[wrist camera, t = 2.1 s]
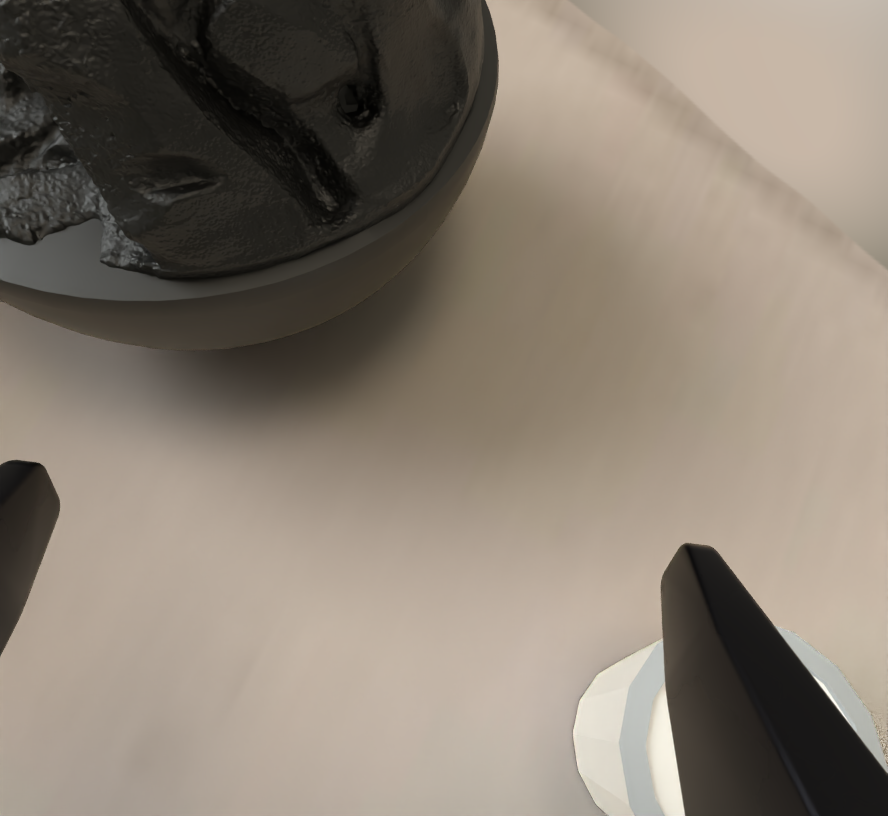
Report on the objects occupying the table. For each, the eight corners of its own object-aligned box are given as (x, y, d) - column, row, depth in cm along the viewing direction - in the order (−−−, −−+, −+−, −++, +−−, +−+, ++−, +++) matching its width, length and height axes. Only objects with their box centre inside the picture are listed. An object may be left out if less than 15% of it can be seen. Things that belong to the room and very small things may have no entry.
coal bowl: (159, 548, 24) (-402, 165, 7) (-76, 194, 29) (-723, -517, 12) (555, 275, 30) (775, -281, 13) (302, 24, 36) (224, -603, 19)
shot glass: (651, 598, 25) (743, 562, 18) (792, 760, 23) (950, 783, 16) (513, 726, 23) (563, 736, 16) (656, 917, 21) (776, 1012, 14)
